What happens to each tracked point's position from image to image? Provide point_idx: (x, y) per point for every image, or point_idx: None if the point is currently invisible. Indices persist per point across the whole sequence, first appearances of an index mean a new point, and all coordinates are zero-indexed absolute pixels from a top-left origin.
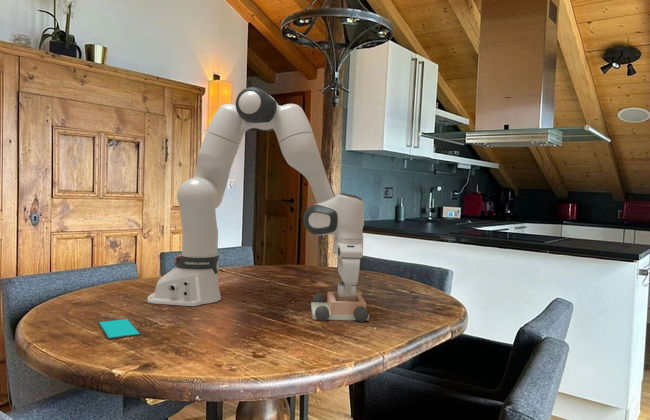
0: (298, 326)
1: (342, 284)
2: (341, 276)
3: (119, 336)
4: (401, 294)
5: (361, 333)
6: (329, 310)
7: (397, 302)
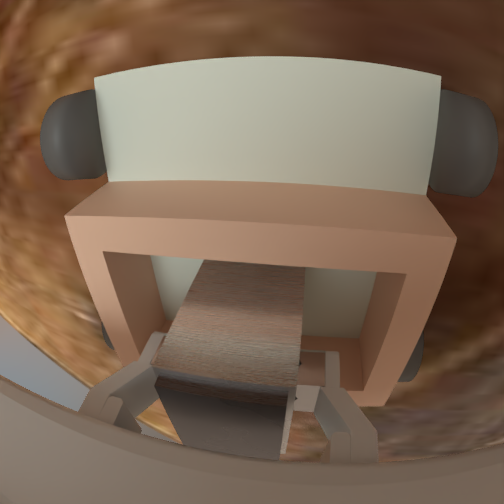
0: (16, 38)
1: (163, 394)
2: (141, 458)
3: None
4: (490, 435)
5: (22, 264)
6: (197, 179)
7: (419, 432)
